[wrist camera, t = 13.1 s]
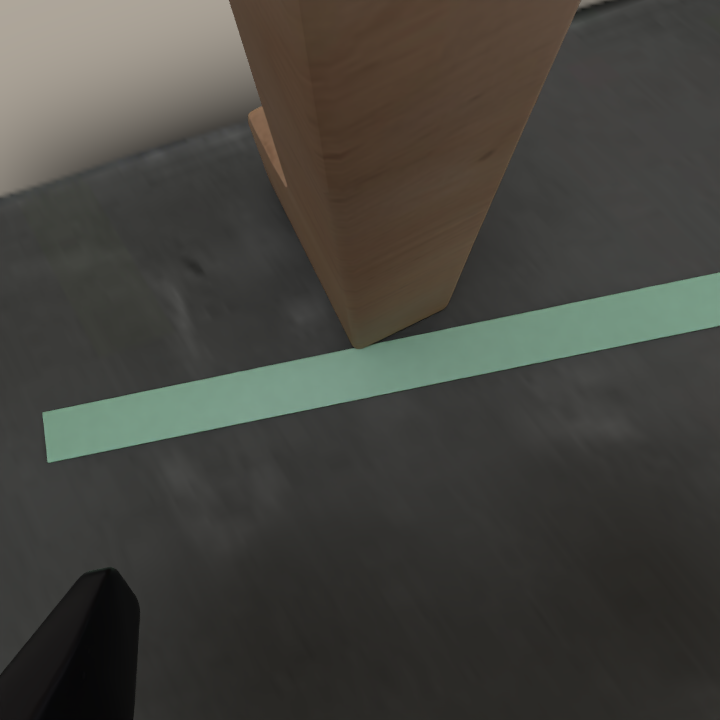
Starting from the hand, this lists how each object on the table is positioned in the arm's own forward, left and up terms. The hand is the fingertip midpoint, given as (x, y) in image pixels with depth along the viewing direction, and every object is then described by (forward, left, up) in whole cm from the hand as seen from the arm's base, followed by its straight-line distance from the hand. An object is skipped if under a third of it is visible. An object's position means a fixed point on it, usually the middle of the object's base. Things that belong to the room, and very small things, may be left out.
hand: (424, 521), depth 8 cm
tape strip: (0, +4, -9) cm, 10 cm away
